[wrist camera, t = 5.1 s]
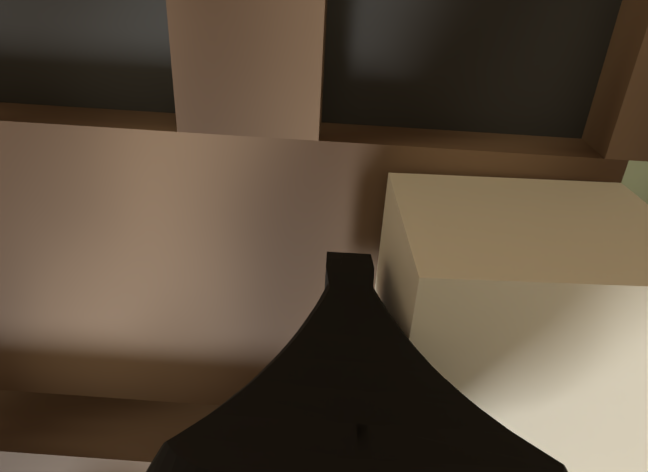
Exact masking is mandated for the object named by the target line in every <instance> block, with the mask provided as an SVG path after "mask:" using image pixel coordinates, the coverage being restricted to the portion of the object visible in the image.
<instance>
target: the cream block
mask: <svg viewBox="0 0 648 472" xmlns="http://www.w3.org/2000/svg"><path fill="white" fill-rule="evenodd" d="M375 291H376V293H377V294H378V296H379V297H380V299H381V301H382V302H383V304H384V305H385V307H386V308H387V310H388V312H389V313H390V314H391V316H392V317H393V319H394V320H395V322H396V323H397V324H398V326H399V327H400V328H401V330H402V331H403V332H404V334H405V335H406V336H407V338H408V339H409V340H410V341H411V342H412V344H413V345H414V346H415V347H416V348H417V350H418V351H419V352H420V353H421V354H422V355H423V356H424V357H425V359H426V360H427V361H428V362H429V363H430V364H431V365H432V366H433V367H434V368H435V369H436V370H437V371H438V372H439V373H440V374H441V375H442V376H443V377H444V378H445V379H446V380H448V381H449V382H450V383H451V384H452V385H453V386H454V387H455V388H457V389H458V390H459V391H460V392H461V393H462V394H463V395H465V396H466V397H467V398H468V399H469V400H470V401H472V402H473V403H474V404H475V405H477V406H478V407H479V408H480V409H482V410H483V411H484V412H486V413H487V414H488V415H490V416H491V417H492V418H494V419H495V420H497V421H498V422H499V423H501V424H502V425H503V426H505V427H506V428H507V429H509V430H510V431H512V432H513V433H515V434H516V435H518V436H519V437H521V438H523V439H524V440H526V441H527V442H529V443H531V444H532V445H534V446H535V447H537V448H538V449H540V450H542V451H543V452H545V453H546V454H548V455H550V456H551V457H553V458H554V459H556V460H557V461H559V462H561V463H562V464H564V465H565V467H566V469H567V471H568V472H648V204H647V203H646V202H644V201H643V200H642V199H641V198H639V197H638V196H637V195H636V194H634V193H633V192H632V191H631V190H630V189H628V188H627V187H626V186H625V185H623V184H622V183H614V182H591V181H569V180H546V179H523V178H501V177H478V176H456V175H433V174H411V173H388V180H387V188H386V197H385V206H384V214H383V223H382V231H381V240H380V248H379V257H378V265H377V274H376V283H375Z"/></svg>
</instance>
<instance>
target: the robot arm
mask: <svg viewBox="0 0 648 472" xmlns="http://www.w3.org/2000/svg"><path fill="white" fill-rule="evenodd" d="M373 283H374V265H373V260H372V257H371V254H360V253H344V252H327V257H326V273H325V290H324V291H323V293H322V295H321V297H320V299H319V300H318V302H317V304H316V305H315V307H314V308H313V310H312V311H311V313H310V314H309V316H308V317H307V319H306V320H305V321H304V323H303V324H302V326H301V327H300V328H299V330H298V331H297V332H296V334H295V335H294V336H293V337H292V339H291V340H290V341H289V342H288V343H287V345H286V346H285V347H284V348H283V349H282V350H281V351H280V353H279V354H278V355H277V356H276V357H275V358H274V359H273V360H272V361H271V362H270V363H269V364H268V365H267V366H266V367H265V368H264V369H263V370H262V371H261V372H260V373H259V374H258V375H257V376H256V377H254V378H253V379H252V380H251V381H250V382H249V383H248V384H247V385H245V386H244V387H243V388H242V389H240V390H239V391H238V392H237V393H235V394H234V395H233V396H232V397H230V398H229V399H228V400H227V401H225V402H224V403H223V404H222V405H220V406H219V407H218V408H217V409H215V410H214V411H212V412H211V413H210V414H208V415H207V416H205V417H204V418H202V419H201V420H199V421H198V422H196V423H195V424H193V425H191V426H190V427H188V428H187V429H185V430H184V431H182V432H181V433H179V434H177V435H176V436H174V437H172V438H171V439H169V440H167V441H166V442H164V443H163V445H162V446H161V448H160V449H159V451H158V452H157V454H156V456H155V457H154V459H153V461H152V462H151V464H150V465H149V467H148V469H147V471H146V472H568V471H567V469H566V467H565V465H564V464H562V463H561V462H559V461H557V460H556V459H554V458H553V457H551V456H550V455H548V454H546V453H545V452H543V451H542V450H540V449H538V448H537V447H535V446H534V445H532V444H531V443H529V442H527V441H526V440H524V439H523V438H521V437H519V436H518V435H516V434H515V433H513V432H512V431H510V430H509V429H507V428H506V427H505V426H503V425H502V424H501V423H499V422H498V421H497V420H495V419H494V418H492V417H491V416H490V415H488V414H487V413H486V412H484V411H483V410H482V409H480V408H479V407H478V406H477V405H475V404H474V403H473V402H472V401H470V400H469V399H468V398H467V397H466V396H465V395H463V394H462V393H461V392H460V391H459V390H458V389H457V388H455V387H454V386H453V385H452V384H451V383H450V382H449V381H448V380H446V379H445V378H444V377H443V376H442V375H441V374H440V373H439V372H438V371H437V370H436V369H435V368H434V367H433V366H432V365H431V364H430V363H429V362H428V361H427V360H426V359H425V357H424V356H423V355H422V354H421V353H420V352H419V351H418V350H417V348H416V347H415V346H414V345H413V344H412V342H411V341H410V340H409V339H408V338H407V336H406V335H405V334H404V332H403V331H402V330H401V328H400V327H399V326H398V324H397V323H396V322H395V320H394V319H393V317H392V316H391V314H390V313H389V312H388V310H387V308H386V307H385V305H384V304H383V302H382V301H381V299H380V297H379V296H378V294H377V293H376V291H375V289H374V287H373Z"/></svg>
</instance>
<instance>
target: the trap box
mask: <svg viewBox="0 0 648 472" xmlns="http://www.w3.org/2000/svg"><path fill="white" fill-rule="evenodd" d="M388 173H411V174H433V175H456V176H478V177H501V178H523V179H546V180H569V181H591V182H614V183H622V184H623V185H625V186H626V187H627V188H628V189H630V190H631V191H632V192H633V193H634V194H636V195H637V196H638V197H639V198H641V199H642V200H643V201H644V202H646V203H647V204H648V0H0V472H146V471H147V469H148V467H149V465H150V464H151V462H152V461H153V459H154V457H155V456H156V454H157V452H158V451H159V449H160V448H161V446H162V445H163V443H164V442H166V441H167V440H169V439H171V438H172V437H174V436H176V435H177V434H179V433H181V432H182V431H184V430H185V429H187V428H188V427H190V426H191V425H193V424H195V423H196V422H198V421H199V420H201V419H202V418H204V417H205V416H207V415H208V414H210V413H211V412H212V411H214V410H215V409H217V408H218V407H219V406H220V405H222V404H223V403H224V402H225V401H227V400H228V399H229V398H230V397H232V396H233V395H234V394H235V393H237V392H238V391H239V390H240V389H242V388H243V387H244V386H245V385H247V384H248V383H249V382H250V381H251V380H252V379H253V378H254V377H256V376H257V375H258V374H259V373H260V372H261V371H262V370H263V369H264V368H265V367H266V366H267V365H268V364H269V363H270V362H271V361H272V360H273V359H274V358H275V357H276V356H277V355H278V354H279V353H280V351H281V350H282V349H283V348H284V347H285V346H286V345H287V343H288V342H289V341H290V340H291V339H292V337H293V336H294V335H295V334H296V332H297V331H298V330H299V328H300V327H301V326H302V324H303V323H304V321H305V320H306V319H307V317H308V316H309V314H310V313H311V311H312V310H313V308H314V307H315V305H316V304H317V302H318V300H319V299H320V297H321V295H322V293H323V291H324V290H325V273H326V257H327V252H344V253H360V254H371V257H372V260H373V265H374V283H373V287H374V289H375V283H376V274H377V265H378V257H379V248H380V240H381V231H382V223H383V214H384V206H385V197H386V188H387V180H388Z"/></svg>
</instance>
